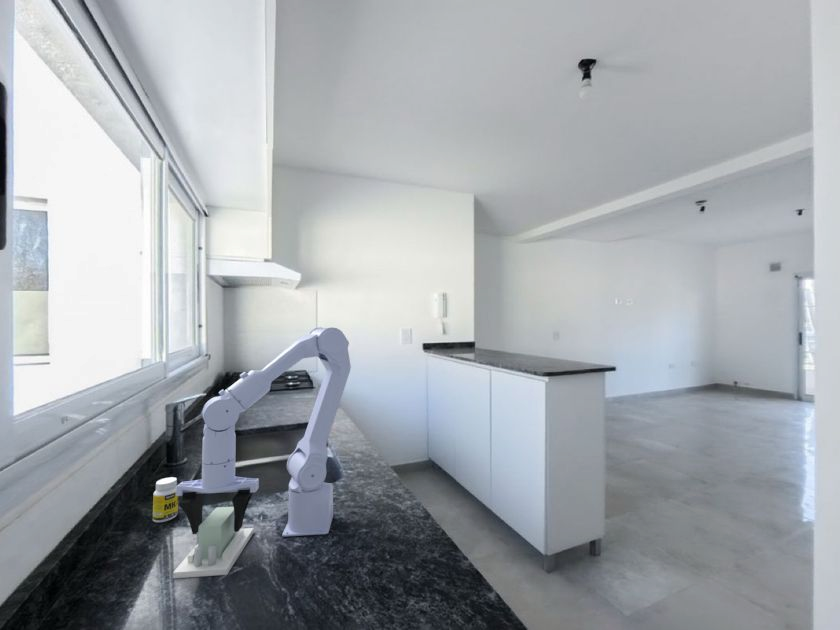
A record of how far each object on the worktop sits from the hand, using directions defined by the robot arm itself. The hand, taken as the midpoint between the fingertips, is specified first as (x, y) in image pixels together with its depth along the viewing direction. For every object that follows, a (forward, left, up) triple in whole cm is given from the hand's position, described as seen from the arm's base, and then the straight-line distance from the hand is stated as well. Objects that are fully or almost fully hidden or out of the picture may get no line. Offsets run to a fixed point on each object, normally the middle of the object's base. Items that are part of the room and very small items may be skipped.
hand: (217, 530), depth 69 cm
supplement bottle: (+18, -15, -5) cm, 24 cm away
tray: (0, 0, -4) cm, 4 cm away
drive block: (0, 0, -3) cm, 3 cm away
